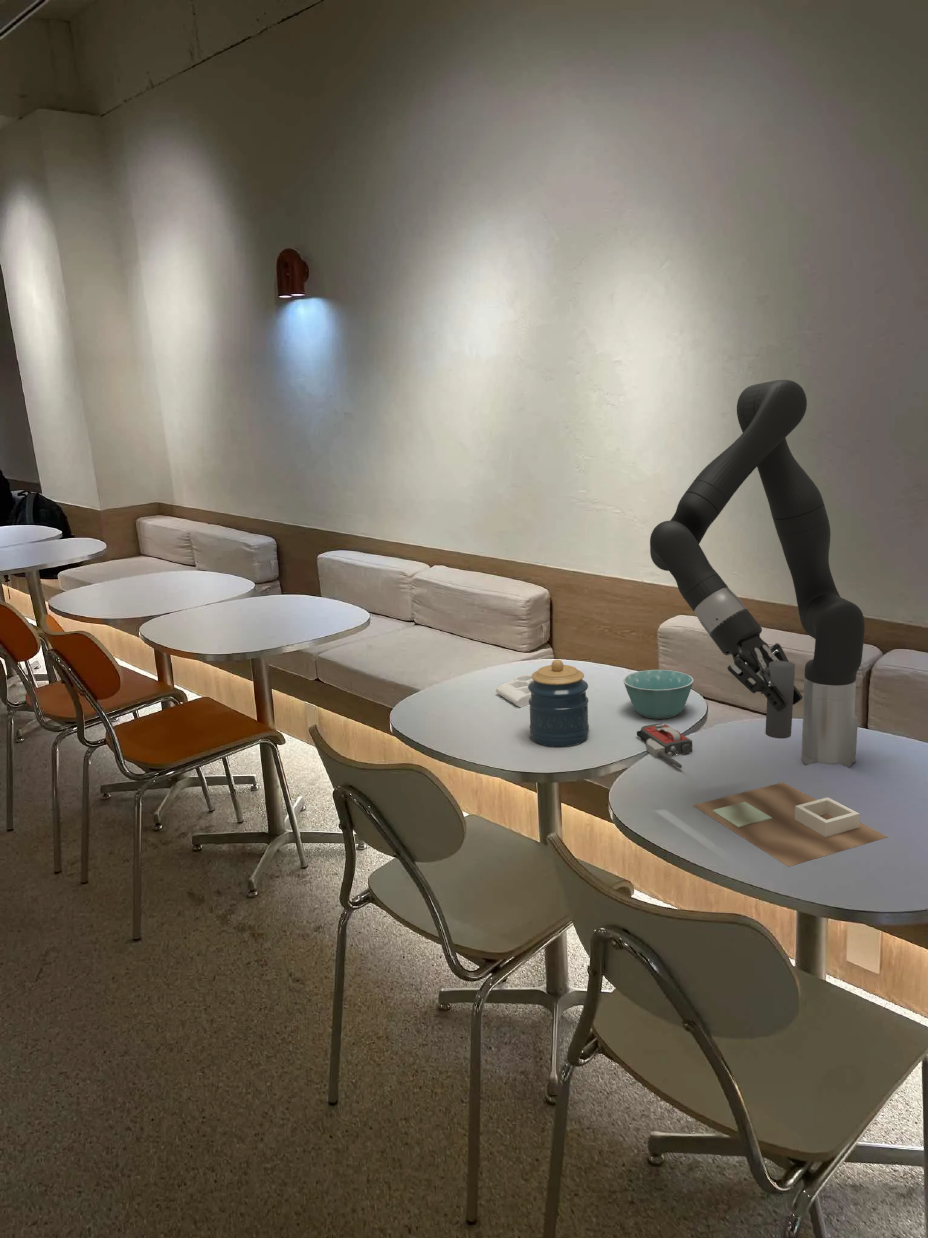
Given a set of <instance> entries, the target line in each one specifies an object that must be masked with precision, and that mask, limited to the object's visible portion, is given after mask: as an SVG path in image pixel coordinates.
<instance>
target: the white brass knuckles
mask: <svg viewBox="0 0 928 1238" xmlns="http://www.w3.org/2000/svg"><path fill="white" fill-rule="evenodd" d="M532 681H533V679H532V674H521V675H517V676H515V678H514V680H513V681H508V682H505V683H503V684H501V685H499V686H497V687H496V689H495V692H496V694H498V695H499V696H501V697H503V698H504V699H506V700H507V701H509V702H511V703H512V704H514V705H515V706H517V707H519V708H525V706H526V707H528V706H527V705H530V704H529V699H530V697H531V691H530V690H529V689H528V685H529V684H530V683H531V682H532Z"/></svg>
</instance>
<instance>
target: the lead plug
mask: <svg viewBox="0 0 928 1238" xmlns="http://www.w3.org/2000/svg"><path fill="white" fill-rule="evenodd" d="M768 669H769V676H770V678H771V680H772V682H773V684H774V686H776V687H777V688H778V690H779V691H780V692H781V694H782V695H783V696H784V698H785V699H786V700H787V702H788V703H789V705H788V706H787V707H786V708H785V709H783V710H782V711H780V712H778V711H776V709H775V708H774V707H773V706H772V704H771V703H770V702H769V700H768V699H767V698H766V716H765V730H764V731H765V733H764V734H765V735H766V736H768V737H769V738H774V739H788V738H791V736H792V726H793V724H792V723H793V706H794V705H793V693H794V686H795V672H796V664H795V663H794V662H791V661H789V662H787V661H772V662H770V663H769V668H768ZM774 686H773V687H774Z"/></svg>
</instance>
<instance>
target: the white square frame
mask: <svg viewBox="0 0 928 1238" xmlns="http://www.w3.org/2000/svg"><path fill="white" fill-rule="evenodd" d="M824 814H829V815H830V816H832V817H834V818H831V819H828V820H826V819H824V818H822V817H820V815H824ZM860 816H861V815H860V813H859V812H857V811H855V810H853V809H851V808H849V807H847V806H845V805H843V804H841V803H839V802H838V801H836V800H834V799H832V798H830V797H828V796H827V797H823V798H820V799H816V801H812V802H808V803H804V804H801V805H797V806H795V820H796V821H798V822H800V823H801V824H803V825H805V826H807V827H809V828H810V829H812V830H814V831H816V832H817V833H819V834H821V835H823V836H824V837H828V836H831V835H835V834H838V833H842V832H845V831H849V830H852V829H855V828H859V822H860Z"/></svg>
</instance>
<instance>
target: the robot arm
mask: <svg viewBox="0 0 928 1238" xmlns="http://www.w3.org/2000/svg"><path fill="white" fill-rule="evenodd" d="M807 401H808V400H807V394H806V392H805V391H804V388H803V387H802V386H801V385H800V384H799V383H798V382H796V381H793V380H790V379H777V380H771V381H767V382H765V381H764V382H761V383H760V382H759V383H756V384H752V385H749V386H747V387H745V388H744V390H742V392H741V393H740V394H739V396H738V398H737V403H736V416H737V420H738V424H739V427H740V429H741V431H742V433H741V434H740V436H739V437H737V439H736V440H735V441H734V442H733V443H731V444H730V445H729V446H728V447H727V448H726V449H724V450H723V451H722V452H721V453H720V454H719V455H717V457H715V458H714V459H713V460H711V462H709V463H708V464H707V465H706V466H705V467H704V468H703V469H702V470H701V471H700V473H698V475H696V477H695V479H694V480H692V483H690V486H689V487H688V488H687V489H686V490H685V492H684V493H683V495H682V497H681V498H680V500H679V501H678V504H677V505H676V509H675V513H674V514H673V516H672V517H671V519H670V520H665V521H662V522H660V523H658V524H657V525H656V526H655V527H654V528H653V530H652V531H651V534H650V537H649V553H650V557H651V560H652V563H653V564H654V565H655V566H656V567H657V568H658V569H660V570H661V571H667V572H669V574H671V575H672V577H673V578H674V580H675V583H676V584H677V585H676V586H677V589H678V591H679V593H680V595H681V597H683V599H684V601H685V602H686V603H687V605H688V606H689V607H690V609H691V610H692V611H693V612H694V614H695V616H696V617H697V620H698V621H699V623H700V624H701V626H702V627H703V629H704V630H705V631H706V633H707V634H708V635H709V636H710V638H711V639H712V640H713V642H714V643H715V645H716V646H717V647H718V649H719V650H720V651H721V653H722V654H723V655H725V656H732V660H733V662H732V663H731V664H729V665H728V666H727V667H726V669H727V671H728V672H729V673H731V674H732V676H734V677H735V679H737V680H738V681H739V682H740V683H741V684H742V685H743V686H744V687H745V688H747V690H748V691H749V692H750V693H752V694H756V693H759V694H761V695H764V696H765V698H766V700H767V699H768V700H769V702H770V703H771V704H772V706H773V707H774V708H775V709H776V711H778V712H780V711H782V710H783V709H785V708H786V707H787V706H788V705H789V703H788V702H787V700H786V699H785V698H784V696H783V695H782V694H781V692H780V691H779V690H778V688H777V687H776V686H774V684H773V682H772V680H771V678H770V676H769V663H770V662H772V661H787V662H790V661H789V659H788V657H787V655H786V654H785V652H784V649H783V648H782V645H781V644H780V643H778V642H777V643H776V642H775V644H774V645H768V643H767V642H766V641H764V639H762V638H761V636H760V635H761V634H762V631H763V629H762V626H761V625H760V623H758V621H757V620H756V618H755V617H754V616H753V615H752V613H751V612H750V611H749V609H748V608H747V607H746V606H745V604H744V602H742V600H741V599H740V598H739V597H738V595H736V594H735V592H733V591H732V589H730V588H729V585H728V584H726V582H725V580H724V579H722V577H721V576H720V575H719V573H718V572H717V571H716V570H715V569H714V567H713V566H712V564H711V563H710V561H709V560H708V557H707V556H706V554H705V552H704V550H703V549H702V548H701V546H700V543H701V542H702V540H703V538H704V536H705V535H706V533H707V531H708V529H709V528H710V526H711V525H712V524H713V523H714V521H716V519H717V518H718V516H719V515H720V514H721V513H722V511H723V510H724V508H725V507H726V505H727V504H728V503H729V502H730V500H731V499H732V497H733V496H734V495H735V494H736V492H737V491H738V489H739V488H740V486H742V484H743V483H744V482H745V481H746V479H748V477H749V476H750V475H751V474H752V473H753V472H754V471H755V469H757V471H758V473H759V477H760V481H761V483H762V487H763V490H764V492H765V496H766V499H767V502H768V505H769V509H770V514H771V517H772V521H773V524H774V528H775V531H776V535H777V537H778V540H779V542H780V545H781V548H782V552H783V556H784V557H785V562H786V563H787V567H788V569H789V573H790V575H791V579H792V583H793V588H794V592H795V593H794V594H795V598H796V605H797V610H798V614H799V620H800V623H801V626H802V628H803V630H804V632H805V633H806V634H808V635H809V637H811V638H813V639H814V641H815V642H814V652H813V659H810V660H808V661H807V662H806V663H805V665H804V682H803V683H804V684H803V695H802V693H801V692H800V690H798V688H797V687H796V686H795V685H794V693H793V706H794V705H796V704H798V703H799V702H801V701H802V700H803V706H802V707H803V709H802V710H803V711H802V729H801V730H802V732H801V733H802V734H801V757H800V758H801V762H802V763H803V764H805V765H806V766H809V765H812V764H813V765H814V764H816V763H819V764H824V765H842V766H844V767H846V768H850V767H851V766H852V763H856V759H857V758H856V757H857V742H858V739H857V738H858V723H859V721H858V720H859V717H858V715H856V714H855V705H856V704H855V703H856V685H857V683H856V682H857V673H858V671H859V669H860V668H861V665H862V660H863V653H864V652H863V651H864V640H865V633H866V631H865V629H866V627H865V626H866V624H865V617H864V613H863V611H862V609H861V608H860V607H859V606H858V605H856V603H853V602H852V601H850V600H848V599H846V598H844V597H841V595H840V593H839V591H838V589H837V586H836V584H835V581H834V578H833V575H832V572H831V569H830V561H829V557H830V546H831V525H830V520H829V516H828V514H827V510H826V506H825V502H824V499H823V497H822V493H821V491H820V489H819V488H818V486H817V485H816V483H815V482H814V481H813V480H812V478H811V477H810V476H809V475H808V473H807V472H806V471H805V470H804V468H802V467H801V464H800V463H798V461H797V460H796V459H795V457H794V455H793V452H792V451H791V449H790V446H789V445H788V442H787V436H789V434H790V433H792V432H793V431H794V430H795V429H796V428H797V426H798V425H799V424H800V423H801V422H802V420H803V418H804V417H805V415H806V411H807V407H808V402H807ZM773 686H774V687H773Z"/></svg>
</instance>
